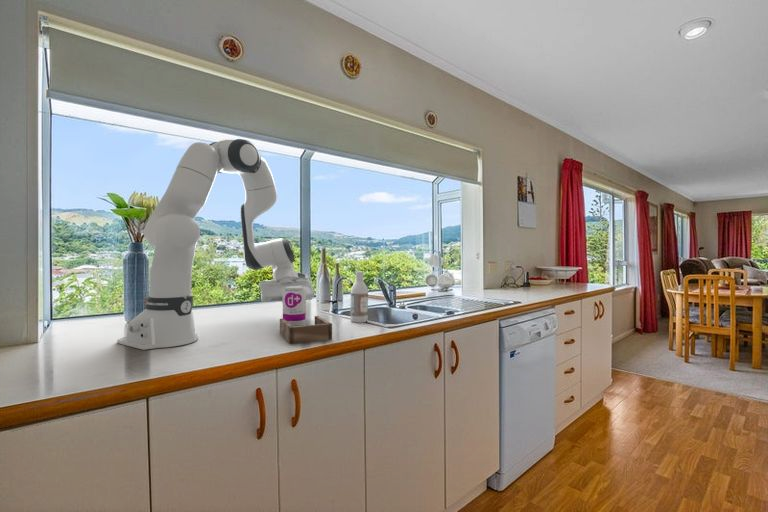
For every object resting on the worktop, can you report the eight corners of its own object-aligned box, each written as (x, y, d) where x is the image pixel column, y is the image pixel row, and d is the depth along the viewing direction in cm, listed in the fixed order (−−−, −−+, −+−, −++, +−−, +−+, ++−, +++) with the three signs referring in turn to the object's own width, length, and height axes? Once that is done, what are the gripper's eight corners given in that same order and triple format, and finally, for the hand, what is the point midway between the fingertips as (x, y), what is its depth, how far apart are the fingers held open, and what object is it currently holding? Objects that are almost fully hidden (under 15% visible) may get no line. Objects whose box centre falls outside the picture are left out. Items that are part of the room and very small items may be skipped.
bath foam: (357, 323, 142) (358, 272, 142) (346, 321, 147) (347, 271, 147) (371, 321, 147) (371, 271, 147) (359, 318, 152) (360, 270, 152)
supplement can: (302, 330, 130) (303, 288, 130) (279, 329, 131) (279, 287, 130) (307, 325, 139) (308, 285, 138) (286, 324, 139) (286, 285, 138)
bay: (279, 333, 125) (279, 318, 125) (317, 329, 131) (317, 315, 131) (290, 344, 112) (290, 327, 112) (331, 339, 118) (332, 324, 118)
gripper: (259, 275, 141) (263, 304, 132) (311, 274, 150) (318, 301, 142) (257, 286, 145) (261, 315, 136) (308, 284, 154) (314, 311, 146)
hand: (290, 308), depth 139 cm, fingers closed
